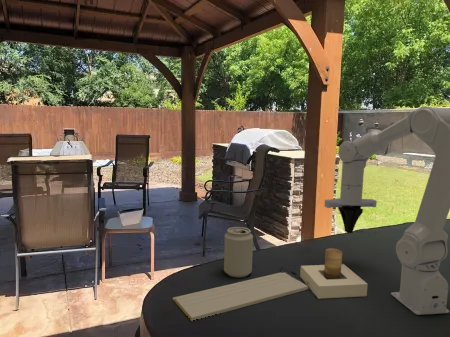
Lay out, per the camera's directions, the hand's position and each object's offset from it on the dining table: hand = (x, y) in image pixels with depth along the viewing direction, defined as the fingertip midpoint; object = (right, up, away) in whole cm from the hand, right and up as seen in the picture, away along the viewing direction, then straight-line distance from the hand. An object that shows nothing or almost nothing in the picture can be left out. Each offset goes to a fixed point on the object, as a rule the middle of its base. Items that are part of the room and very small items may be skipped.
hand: (348, 232), depth 103 cm
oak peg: (-8, -11, -12) cm, 18 cm away
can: (-32, -10, -6) cm, 34 cm away
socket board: (-8, -11, -12) cm, 18 cm away
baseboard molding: (-31, -12, -17) cm, 37 cm away
